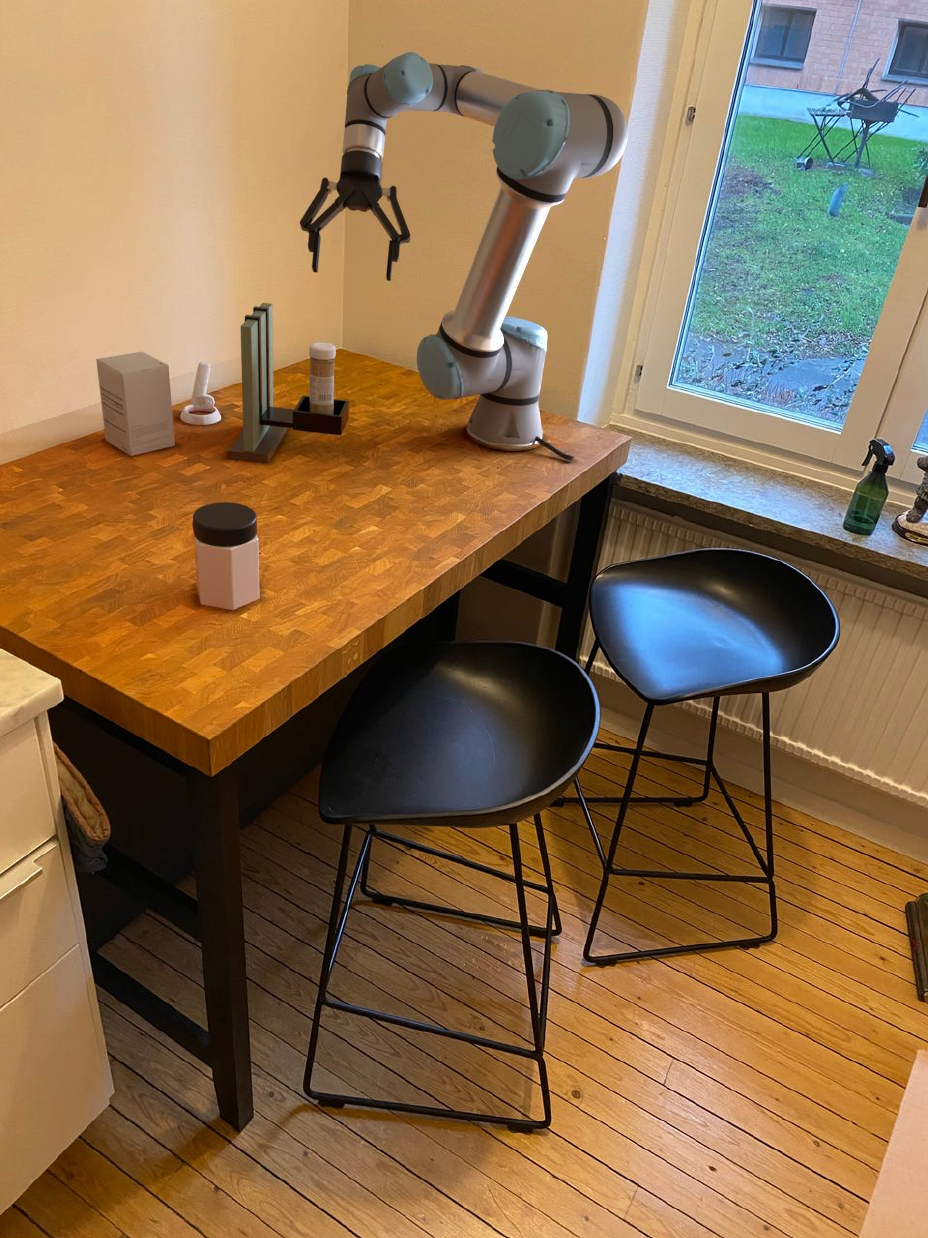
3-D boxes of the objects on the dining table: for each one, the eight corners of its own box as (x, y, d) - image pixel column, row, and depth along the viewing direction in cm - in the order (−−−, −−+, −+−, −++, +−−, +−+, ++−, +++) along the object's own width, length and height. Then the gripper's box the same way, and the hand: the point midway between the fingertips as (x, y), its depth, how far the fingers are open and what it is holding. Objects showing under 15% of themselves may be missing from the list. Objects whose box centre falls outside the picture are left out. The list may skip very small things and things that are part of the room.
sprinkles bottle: (334, 415, 173) (336, 342, 166) (333, 424, 169) (335, 350, 162) (308, 413, 172) (309, 340, 165) (308, 422, 168) (309, 348, 161)
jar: (235, 572, 133) (232, 495, 127) (273, 594, 129) (272, 516, 123) (182, 593, 127) (176, 513, 121) (219, 617, 123) (216, 536, 117)
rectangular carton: (149, 430, 173) (143, 349, 165) (176, 446, 168) (170, 364, 160) (103, 440, 167) (94, 357, 159) (129, 457, 162) (121, 372, 155)
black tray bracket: (348, 418, 175) (352, 315, 165) (341, 435, 167) (344, 329, 157) (257, 408, 174) (255, 304, 164) (246, 424, 167) (243, 317, 157)
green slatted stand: (287, 428, 181) (287, 304, 168) (267, 462, 166) (266, 329, 154) (251, 424, 181) (249, 300, 168) (228, 458, 166) (223, 324, 154)
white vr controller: (226, 378, 186) (230, 368, 179) (217, 436, 185) (220, 428, 178) (187, 368, 184) (190, 358, 177) (177, 428, 183) (179, 419, 176)
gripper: (429, 174, 177) (419, 288, 177) (297, 159, 175) (286, 273, 176) (430, 156, 169) (419, 274, 170) (291, 139, 168) (280, 259, 168)
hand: (351, 274), depth 173 cm, fingers open, 13 cm apart
